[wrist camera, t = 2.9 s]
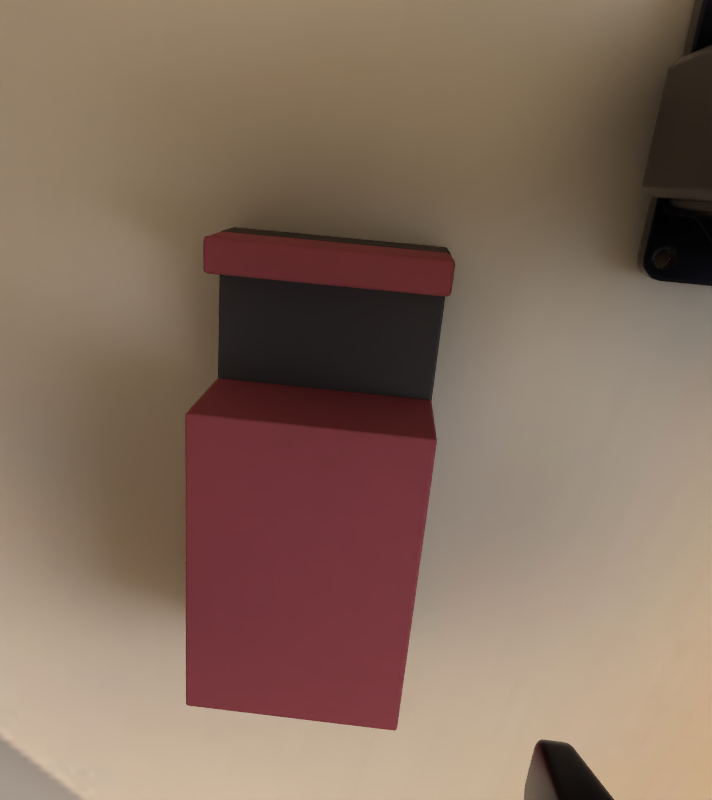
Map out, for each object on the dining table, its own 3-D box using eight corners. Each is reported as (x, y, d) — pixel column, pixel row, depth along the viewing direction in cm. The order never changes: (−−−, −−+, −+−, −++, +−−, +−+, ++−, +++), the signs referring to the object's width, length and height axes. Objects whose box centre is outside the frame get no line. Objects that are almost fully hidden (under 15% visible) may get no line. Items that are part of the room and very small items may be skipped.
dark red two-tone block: (447, 247, 16) (461, 267, 12) (396, 641, 20) (394, 743, 16) (232, 227, 16) (184, 240, 12) (224, 621, 20) (185, 718, 16)
